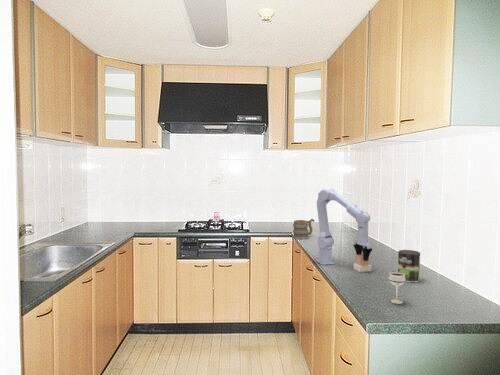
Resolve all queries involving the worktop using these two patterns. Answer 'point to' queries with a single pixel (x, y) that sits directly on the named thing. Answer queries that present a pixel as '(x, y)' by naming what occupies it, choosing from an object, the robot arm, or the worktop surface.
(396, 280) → the wineglass
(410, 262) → the coffee can
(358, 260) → the terracotta cube
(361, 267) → the cream plinth
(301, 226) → the tankard
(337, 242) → the worktop surface
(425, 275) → the worktop surface
